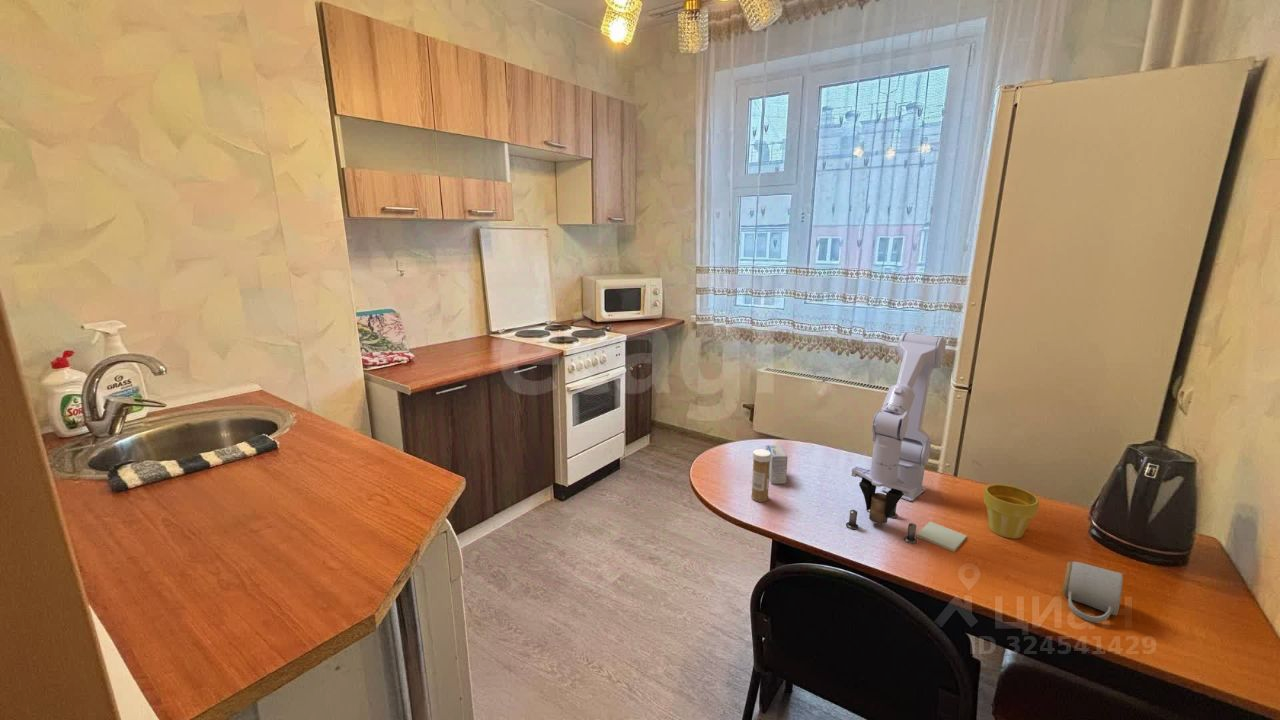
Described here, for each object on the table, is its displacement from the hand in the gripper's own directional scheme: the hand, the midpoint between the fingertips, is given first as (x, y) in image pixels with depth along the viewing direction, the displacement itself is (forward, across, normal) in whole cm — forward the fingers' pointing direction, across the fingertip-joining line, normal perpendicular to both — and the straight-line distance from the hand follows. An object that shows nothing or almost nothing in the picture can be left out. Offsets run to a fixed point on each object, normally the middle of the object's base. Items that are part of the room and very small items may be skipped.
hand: (879, 512), depth 123 cm
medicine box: (+4, -31, +2) cm, 31 cm away
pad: (+3, +12, +6) cm, 14 cm away
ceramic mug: (+4, +39, +3) cm, 40 cm away
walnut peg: (+2, 0, 0) cm, 2 cm away
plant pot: (+4, +21, +20) cm, 29 cm away
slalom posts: (+3, +2, +1) cm, 4 cm away
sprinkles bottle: (+4, -27, -11) cm, 29 cm away
